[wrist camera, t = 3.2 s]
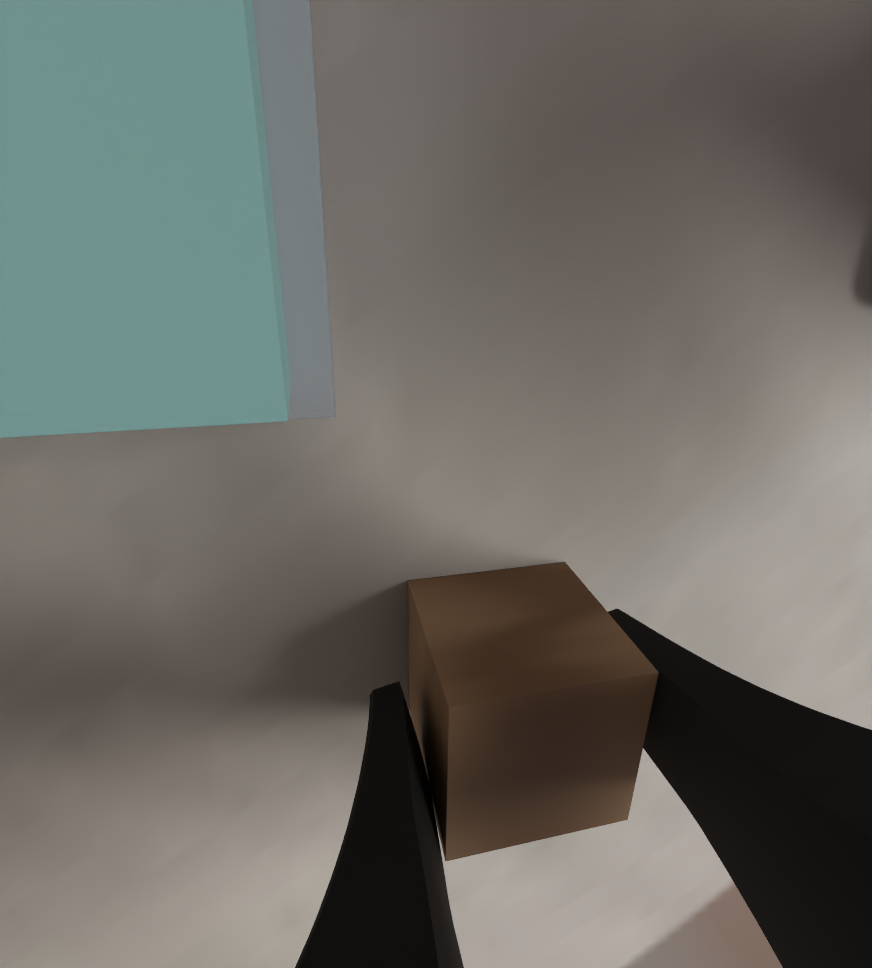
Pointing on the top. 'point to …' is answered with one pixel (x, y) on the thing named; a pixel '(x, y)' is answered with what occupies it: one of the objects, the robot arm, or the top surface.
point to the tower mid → (136, 220)
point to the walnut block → (523, 706)
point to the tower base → (297, 198)
